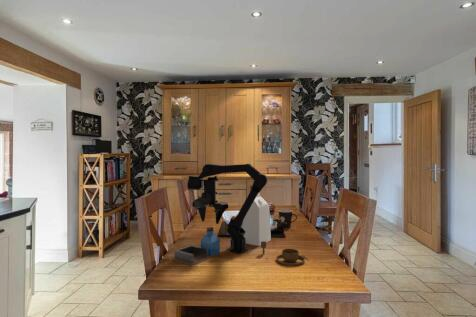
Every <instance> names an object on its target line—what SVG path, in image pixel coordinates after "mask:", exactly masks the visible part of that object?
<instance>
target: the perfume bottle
mask: <svg viewBox="0 0 476 317" xmlns="http://www.w3.org/2000/svg"><path fill="white" fill-rule="evenodd" d="M205 233H206V234H204V235H203V236H202V238H201V239H200V247H202V248H207V249H208V255H211V258H212V257H214V256H216V254H217V255H219V254H221V243H220V242H221V241H220V238H219V237H218V235H217V234H214V233H215V230H214V227H213V226H208V227H206V231H205ZM218 253H219V254H218Z"/></svg>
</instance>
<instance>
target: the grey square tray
mask: <svg viewBox="0 0 476 317" xmlns="http://www.w3.org/2000/svg"><path fill="white" fill-rule="evenodd" d="M173 252H174V255H173V257H171V260H172V261H173V262H177V263H181V264H185V265H187V266H192V267H193V266H195V265H197V264H199V263H202V262H204V261H207V260H209V259H212V257H211V255H208V249H207V248H202V247H201V246H197V245H193V244H190V245H187V246H184V247H181V248H178V249H176V250H174V251H173Z"/></svg>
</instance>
